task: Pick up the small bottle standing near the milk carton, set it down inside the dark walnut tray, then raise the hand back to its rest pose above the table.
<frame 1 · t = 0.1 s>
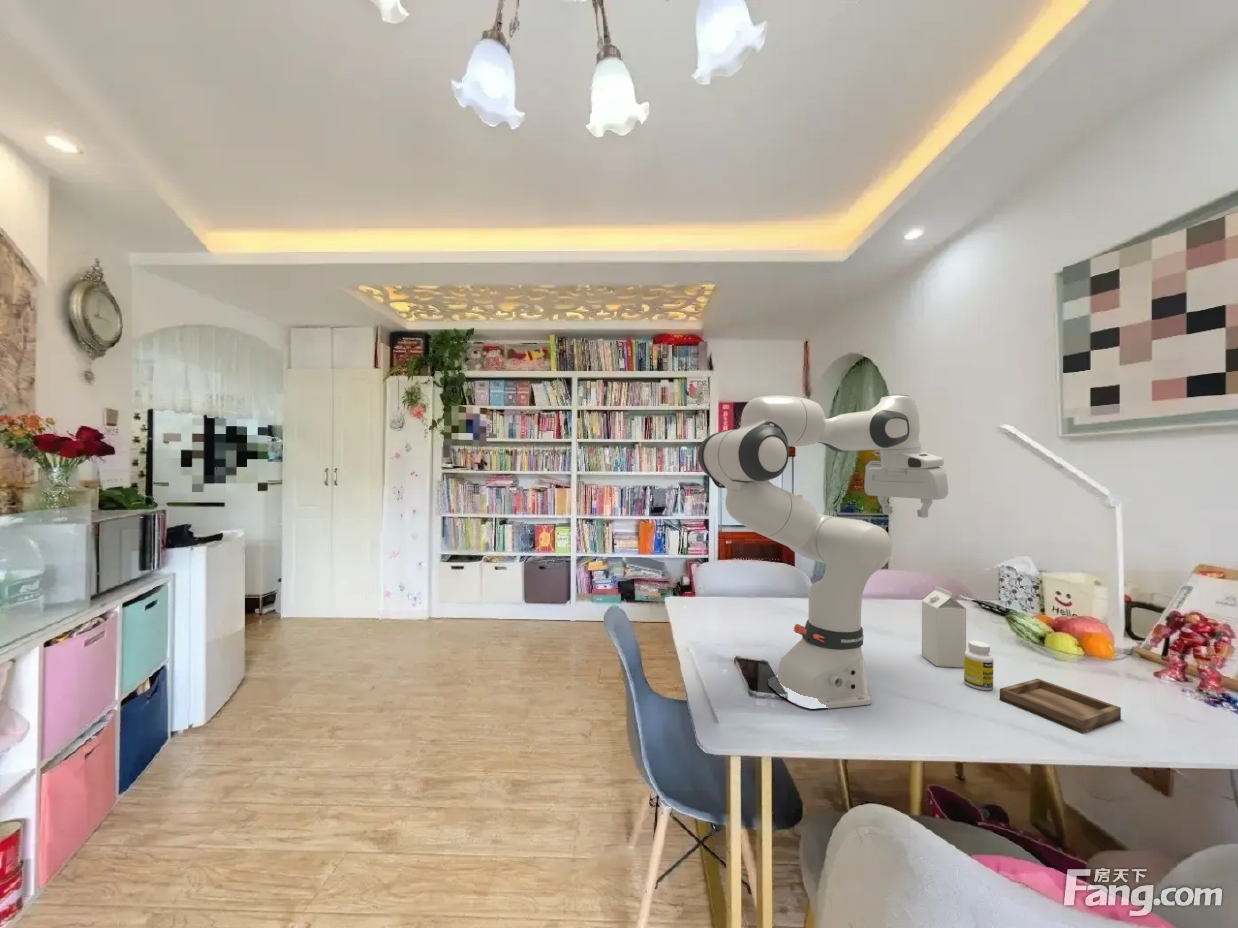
hand: (904, 515, 117), 39 cm above the table, tool pointing down, fingers open, 8 cm apart
supplement bottle: (978, 686, 109), on the table
tray: (1057, 709, 99), on the table
milk carton: (943, 662, 122), on the table
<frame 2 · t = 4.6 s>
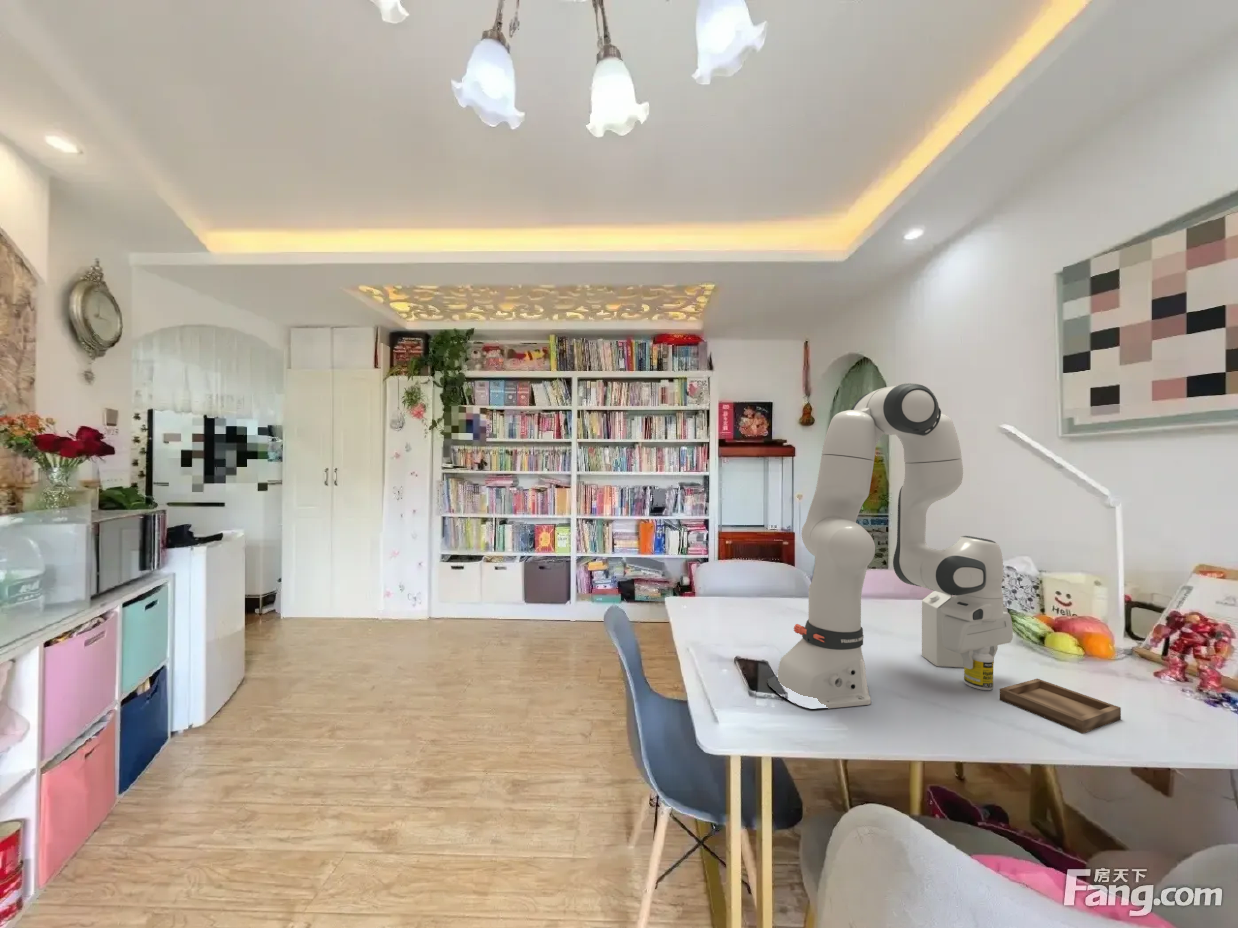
hand: (978, 665, 109), 5 cm above the table, tool pointing down, fingers closed on supplement bottle, 5 cm apart
supplement bottle: (978, 686, 109), on the table, touching gripper
everything else where it was.
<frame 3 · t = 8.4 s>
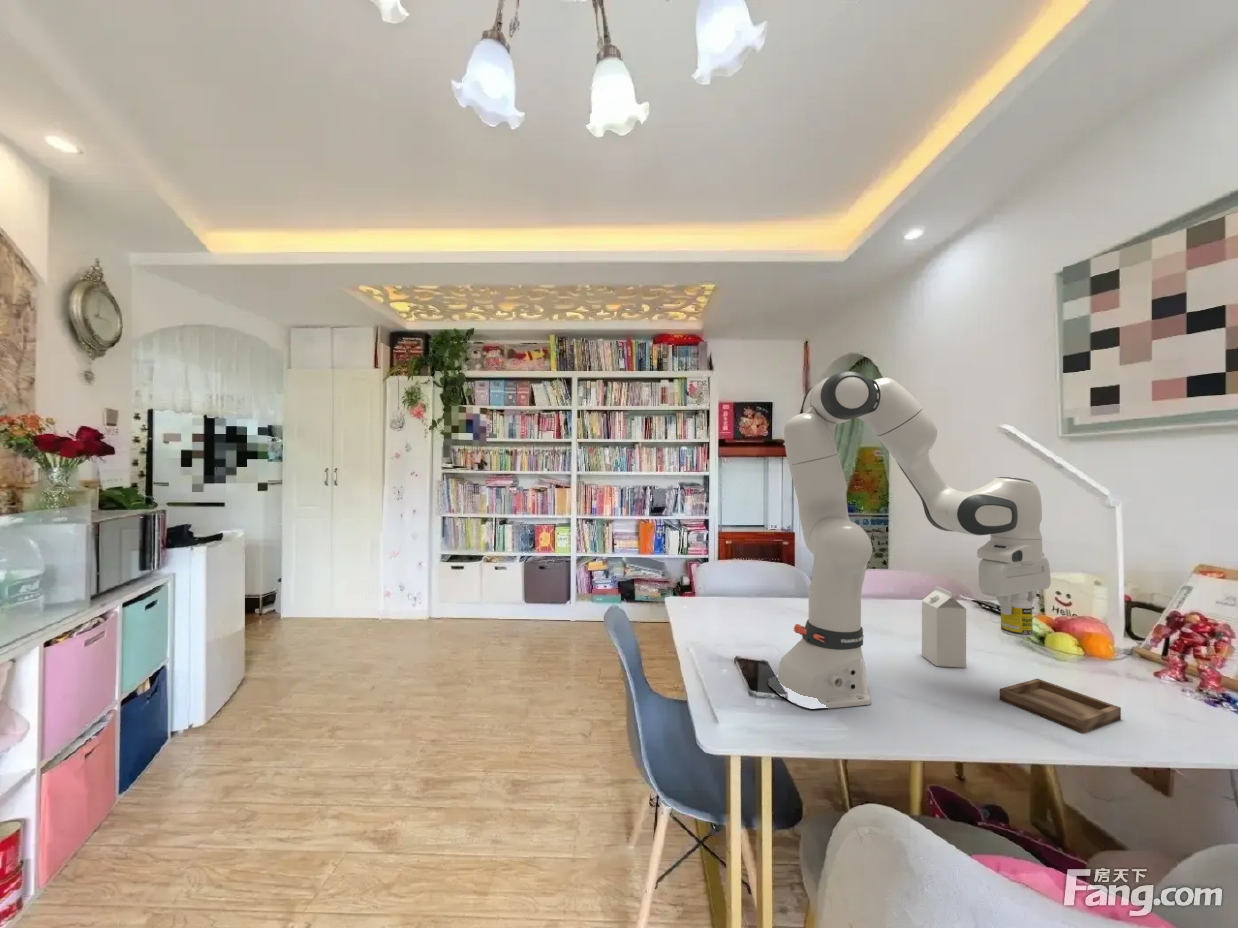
hand: (1016, 612, 104), 19 cm above the table, tool pointing down, fingers closed on supplement bottle, 5 cm apart
supplement bottle: (1016, 635, 104), point 14 cm above the table, touching gripper
everything else where it was.
when the fingers open (7 cm above the table, at t = 12.1 s): supplement bottle stays where it is, resting on tray.
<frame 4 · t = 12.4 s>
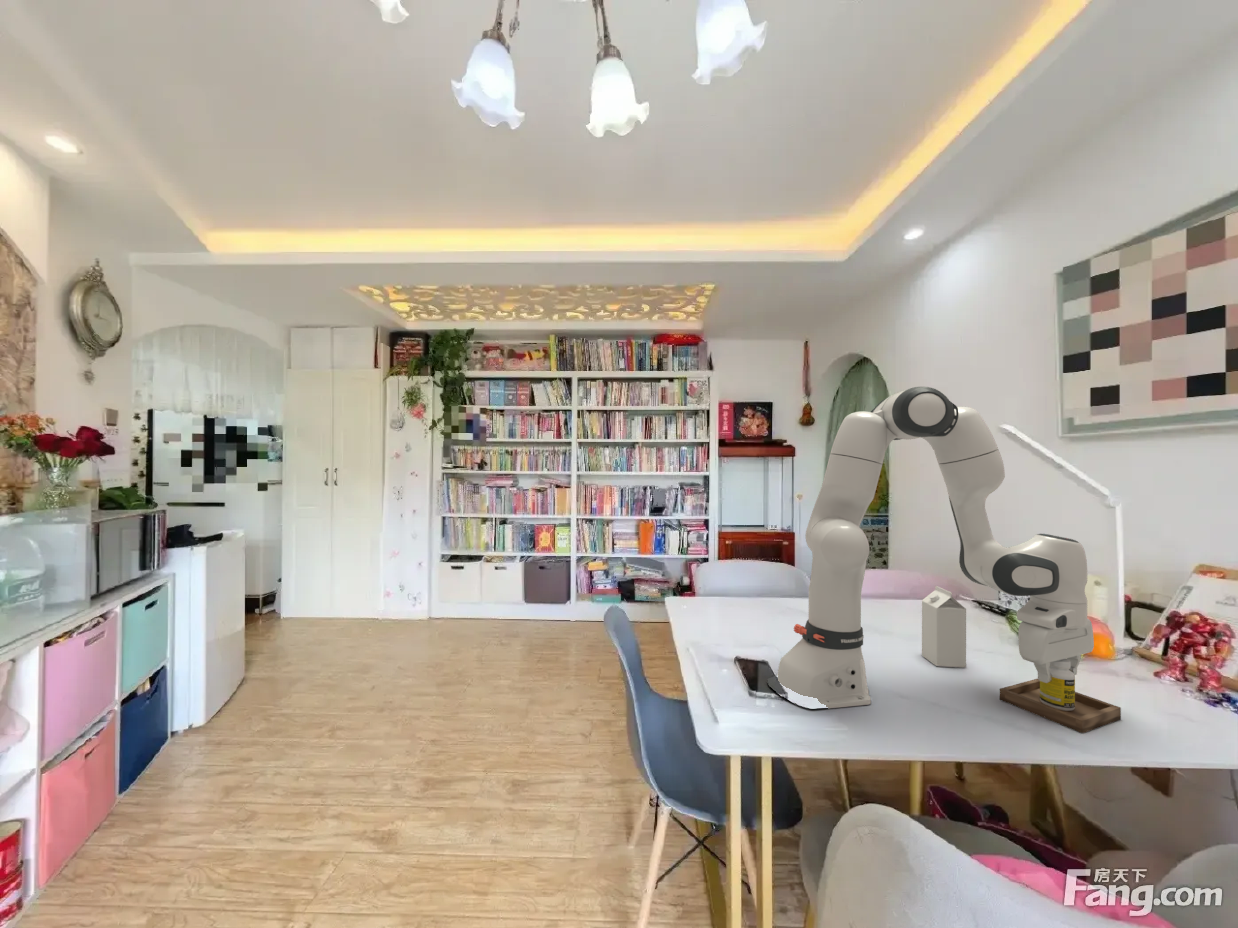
hand: (1057, 677, 99), 7 cm above the table, tool pointing down, fingers open, 8 cm apart
supplement bottle: (1057, 706, 98), point 1 cm above the table, touching tray
everything else where it was.
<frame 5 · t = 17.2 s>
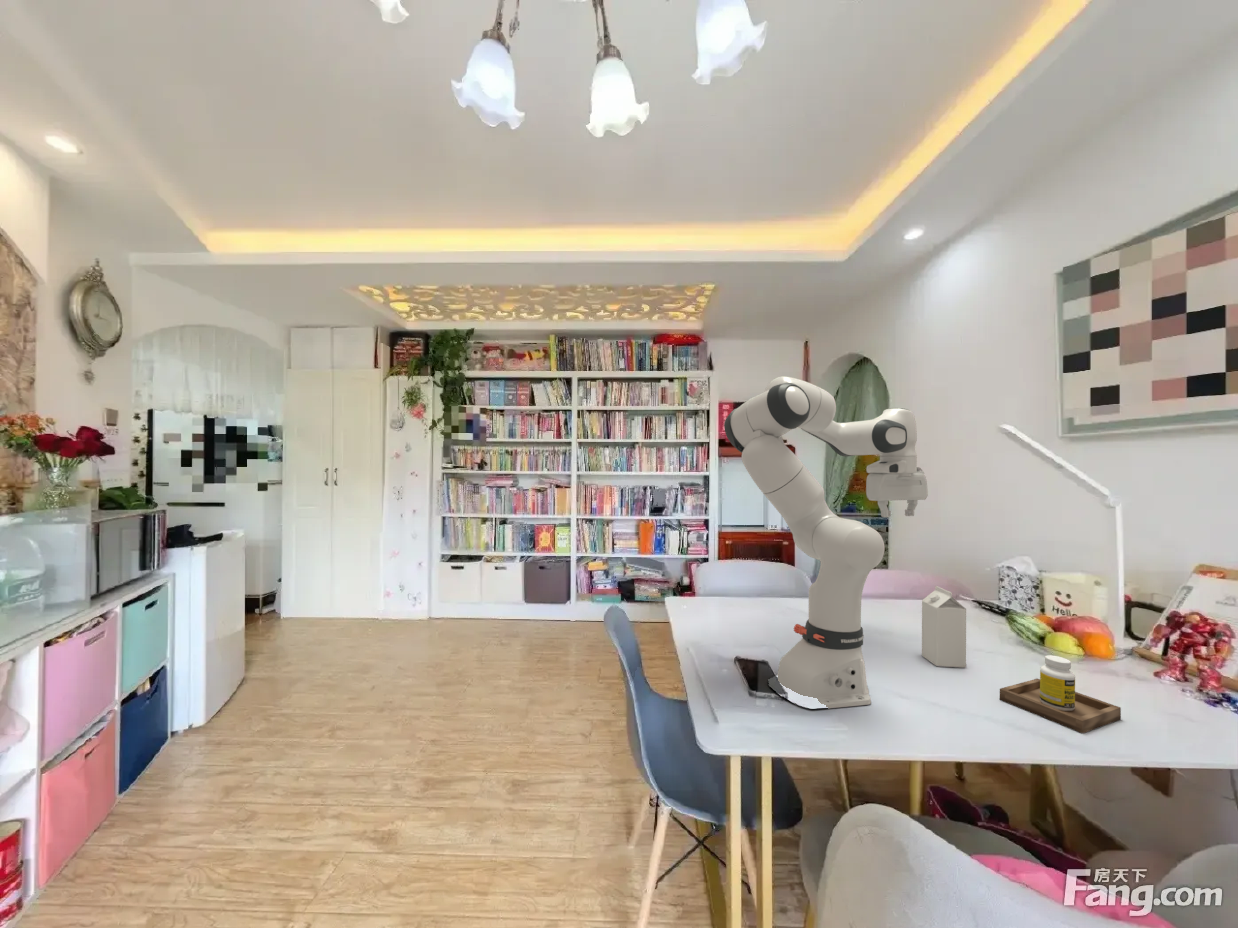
hand: (897, 516, 131), 37 cm above the table, tool pointing down, fingers open, 8 cm apart
nothing on the table moved.
at the end: supplement bottle inside the target area on the tray (0.2 cm from its centre), point 0.6 cm above the tray's base; supplement bottle tilted 0°; the gripper is holding nothing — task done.
